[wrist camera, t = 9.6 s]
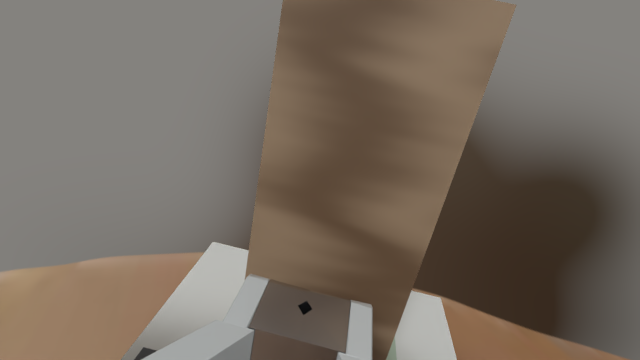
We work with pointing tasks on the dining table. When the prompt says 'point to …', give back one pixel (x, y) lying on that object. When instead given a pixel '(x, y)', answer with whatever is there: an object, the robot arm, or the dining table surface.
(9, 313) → the dining table surface
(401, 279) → the walnut post
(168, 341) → the box
